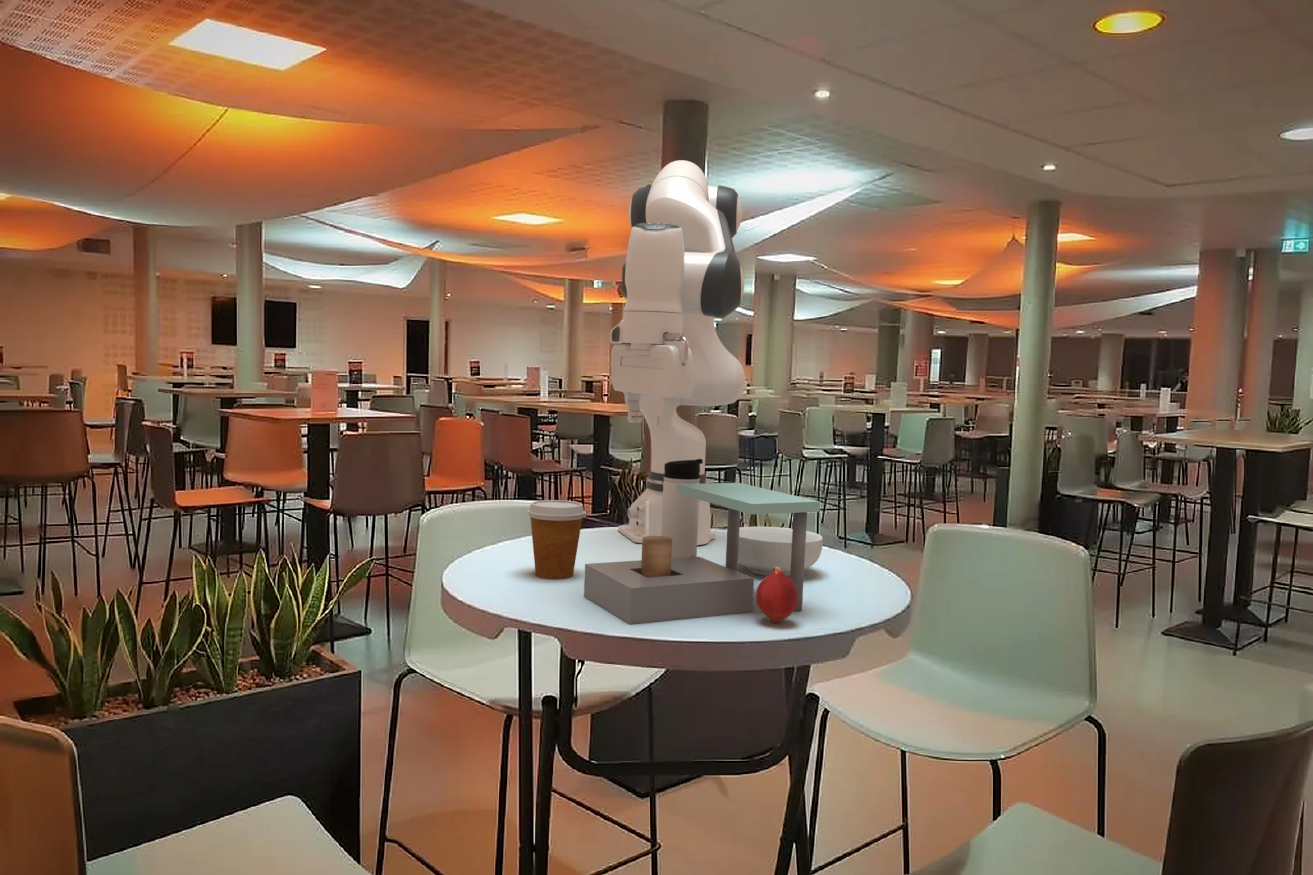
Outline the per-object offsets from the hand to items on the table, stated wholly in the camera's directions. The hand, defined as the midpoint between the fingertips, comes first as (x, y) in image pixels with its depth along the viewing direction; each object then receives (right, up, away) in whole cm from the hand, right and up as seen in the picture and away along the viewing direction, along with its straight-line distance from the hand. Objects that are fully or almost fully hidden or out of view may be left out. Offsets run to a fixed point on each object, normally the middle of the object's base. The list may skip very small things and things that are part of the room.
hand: (648, 425), depth 135 cm
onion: (+18, -28, -8) cm, 34 cm away
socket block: (+3, -27, 0) cm, 27 cm away
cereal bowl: (+22, -26, +26) cm, 42 cm away
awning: (+14, -27, +6) cm, 31 cm away
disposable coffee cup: (-16, -25, +16) cm, 34 cm away
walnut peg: (+1, -27, -1) cm, 27 cm away
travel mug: (+5, -26, +21) cm, 34 cm away
